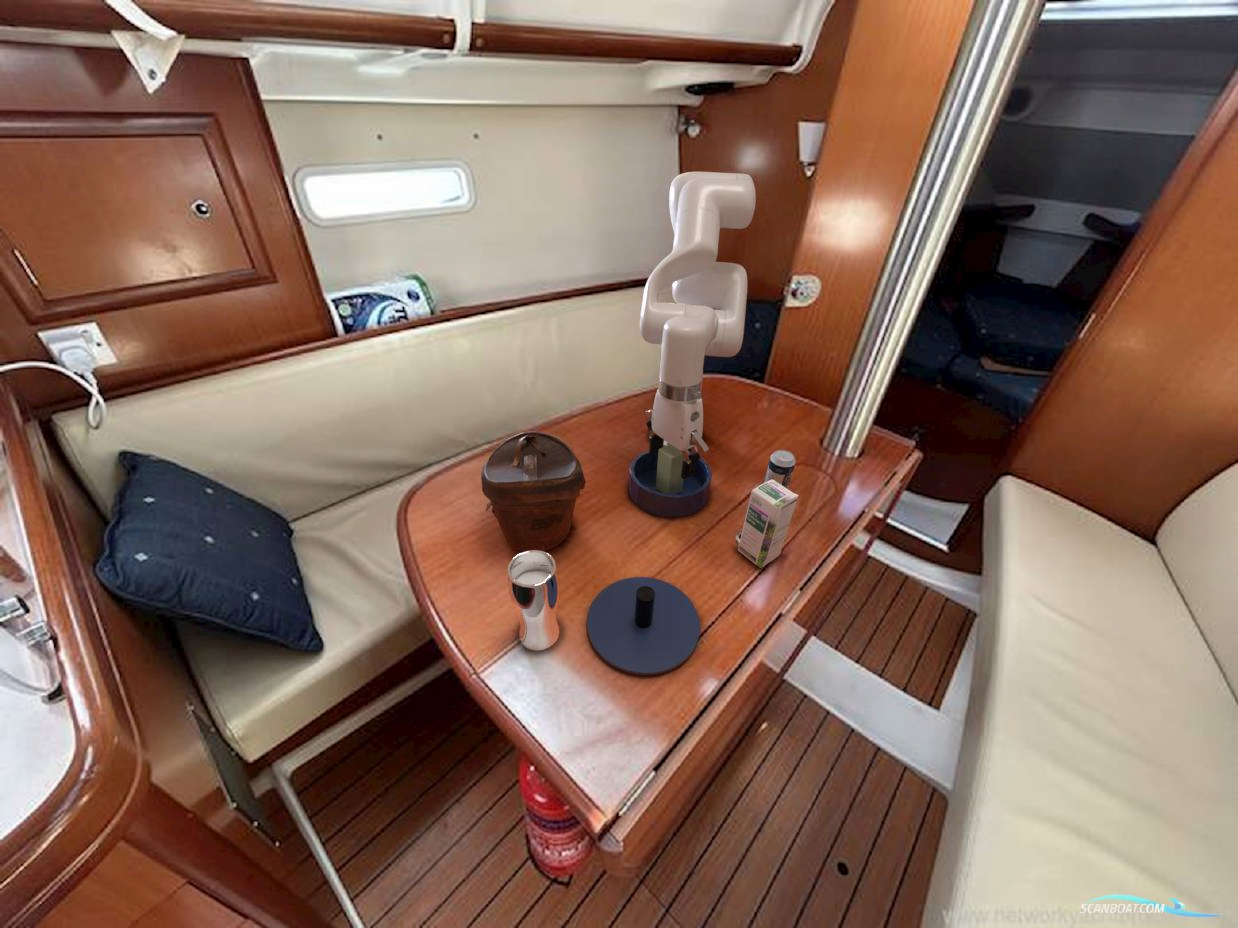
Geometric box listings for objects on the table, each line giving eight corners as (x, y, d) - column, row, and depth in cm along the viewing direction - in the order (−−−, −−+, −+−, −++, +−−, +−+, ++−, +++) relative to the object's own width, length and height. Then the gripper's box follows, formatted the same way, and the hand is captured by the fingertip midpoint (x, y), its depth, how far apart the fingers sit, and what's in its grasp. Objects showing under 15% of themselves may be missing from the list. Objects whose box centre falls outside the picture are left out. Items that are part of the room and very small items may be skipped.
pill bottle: (783, 512, 101) (797, 464, 94) (759, 508, 102) (771, 460, 95) (782, 497, 105) (795, 450, 98) (759, 493, 106) (770, 446, 99)
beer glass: (518, 615, 80) (508, 549, 71) (562, 613, 80) (557, 547, 72) (514, 655, 74) (503, 588, 65) (562, 652, 75) (557, 586, 66)
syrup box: (735, 550, 92) (749, 489, 84) (757, 537, 95) (772, 476, 87) (760, 569, 89) (777, 508, 80) (781, 555, 92) (800, 494, 83)
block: (655, 487, 106) (658, 449, 100) (669, 481, 108) (673, 442, 102) (667, 498, 103) (671, 458, 97) (682, 491, 105) (687, 452, 99)
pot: (613, 484, 107) (613, 464, 104) (672, 458, 115) (675, 439, 112) (663, 529, 96) (665, 508, 93) (725, 497, 105) (729, 476, 101)
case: (542, 483, 107) (536, 410, 96) (606, 531, 96) (607, 455, 85) (468, 522, 97) (451, 446, 86) (530, 581, 85) (520, 502, 75)
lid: (565, 613, 80) (563, 581, 76) (651, 566, 89) (654, 534, 84) (632, 700, 69) (634, 669, 65) (722, 636, 78) (730, 605, 73)
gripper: (728, 400, 87) (715, 479, 97) (664, 366, 99) (658, 439, 109) (697, 412, 84) (686, 493, 94) (634, 375, 95) (630, 450, 105)
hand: (671, 464), depth 101 cm, fingers open, 9 cm apart
